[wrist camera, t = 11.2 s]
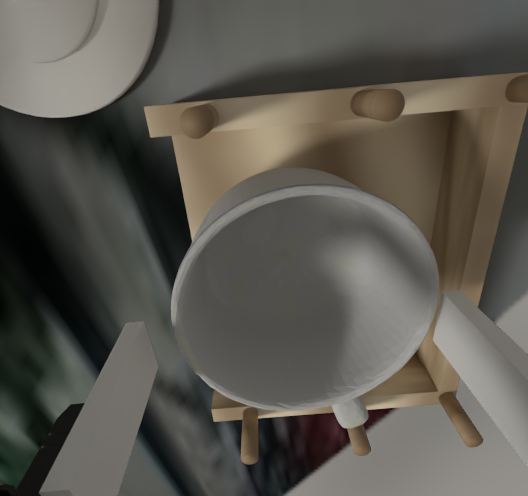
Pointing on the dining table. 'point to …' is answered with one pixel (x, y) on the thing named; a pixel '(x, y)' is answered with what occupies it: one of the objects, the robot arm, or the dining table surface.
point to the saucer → (72, 53)
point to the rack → (370, 190)
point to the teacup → (303, 293)
